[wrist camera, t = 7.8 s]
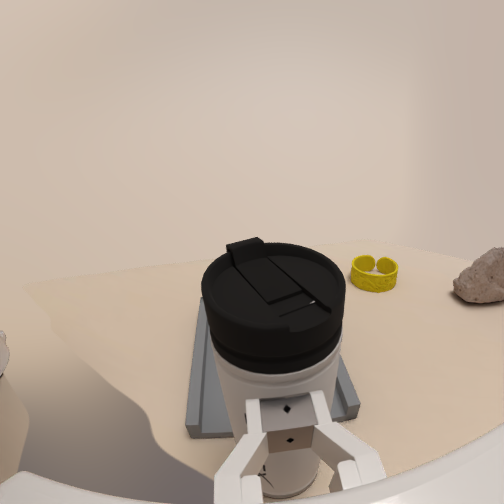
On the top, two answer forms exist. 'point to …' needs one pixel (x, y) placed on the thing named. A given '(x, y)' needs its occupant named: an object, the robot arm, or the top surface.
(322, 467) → the top surface
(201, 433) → the slate tray
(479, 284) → the pumice stone
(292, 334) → the travel mug
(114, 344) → the top surface
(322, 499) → the robot arm
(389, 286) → the bracelet
